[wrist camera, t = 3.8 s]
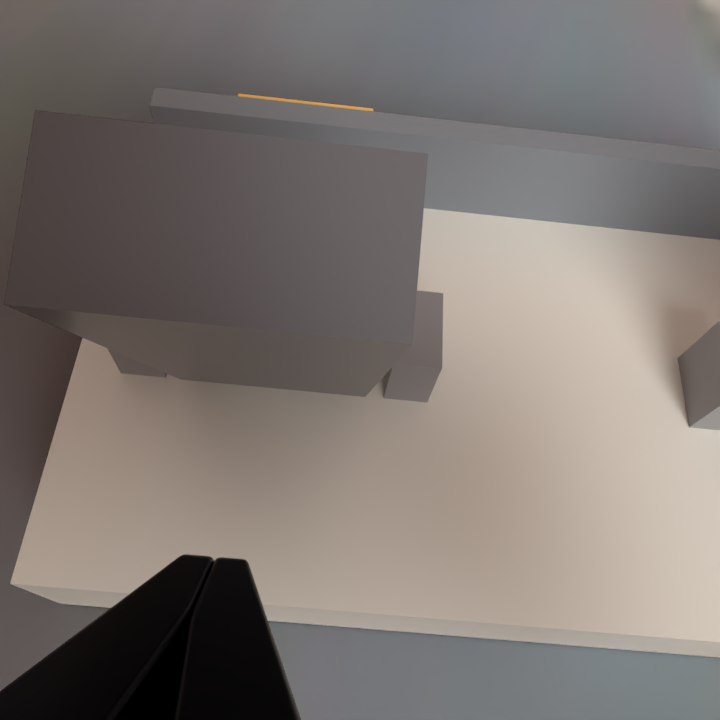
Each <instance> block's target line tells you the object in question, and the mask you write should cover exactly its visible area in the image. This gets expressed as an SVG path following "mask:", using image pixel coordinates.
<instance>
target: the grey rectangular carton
mask: <svg viewBox="0 0 720 720" xmlns="http://www.w3.org/2000/svg"><path fill="white" fill-rule="evenodd" d="M427 163H428V154H427V153H418V152H409V151H400V150H390V149H381V148H372V147H363V146H354V145H345V144H336V143H327V142H318V141H309V140H300V139H291V138H282V137H272V136H263V135H254V134H245V133H236V132H227V131H218V130H209V129H200V128H191V127H182V126H173V125H164V124H154V123H145V122H136V121H127V120H118V119H109V118H100V117H91V116H82V115H73V114H64V113H55V112H46V111H36V110H35V115H34V121H33V127H32V133H31V140H30V146H29V152H28V158H27V164H26V171H25V177H24V183H23V189H22V196H21V202H20V208H19V214H18V220H17V227H16V233H15V239H14V245H13V252H12V258H11V264H10V270H9V276H8V283H7V289H6V295H5V301H4V305H7V306H9V307H11V308H14V309H16V310H18V311H21V312H23V313H25V314H28V315H30V316H33V317H35V318H37V319H40V320H42V321H44V322H47V323H49V324H51V325H54V326H56V327H58V328H61V329H63V330H65V331H68V332H70V333H73V334H75V335H77V336H80V337H82V338H84V339H87V340H89V341H91V342H94V343H96V344H98V345H101V346H103V347H105V348H108V349H110V350H113V351H115V352H117V353H120V354H122V355H124V356H127V357H129V358H131V359H134V360H136V361H138V362H141V363H143V364H146V365H148V366H150V367H153V368H155V369H157V370H160V371H162V372H164V373H167V374H169V375H171V376H174V377H176V378H178V379H182V380H192V381H203V382H213V383H224V384H234V385H245V386H255V387H266V388H276V389H287V390H297V391H308V392H318V393H329V394H339V395H350V396H360V397H366V395H367V394H368V393H369V392H370V391H371V390H372V389H373V388H374V387H375V386H376V384H377V383H378V382H379V381H380V380H381V379H382V378H383V377H384V376H385V374H386V373H387V372H388V371H389V370H390V369H391V368H392V367H393V366H394V365H395V363H396V362H397V361H398V360H399V359H400V358H401V357H402V356H403V355H404V353H405V352H406V351H407V350H408V349H409V348H410V347H411V346H412V344H413V332H414V320H415V308H416V296H417V284H418V272H419V260H420V248H421V236H422V224H423V211H424V199H425V187H426V175H427Z"/></svg>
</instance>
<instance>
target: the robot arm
mask: <svg viewBox="0 0 720 720" xmlns="http://www.w3.org/2000/svg"><path fill="white" fill-rule="evenodd" d="M0 720H301V718H300V715H299V712H298V709H297V706H296V703H295V700H294V697H293V694H292V691H291V688H290V685H289V682H288V679H287V676H286V673H285V670H284V667H283V664H282V661H281V658H280V655H279V652H278V649H277V646H276V643H275V641H274V638H273V635H272V632H271V629H270V626H269V623H268V620H267V617H266V614H265V611H264V608H263V605H262V602H261V599H260V596H259V593H258V590H257V587H256V584H255V581H254V578H253V575H252V572H251V569H250V566H249V563H248V562H247V561H246V560H245V559H237V558H224V557H219V558H217V559H216V560H215V561H214V559H213V558H212V557H210V556H201V555H189V554H184V555H181V556H179V557H178V558H176V559H175V560H174V561H172V562H171V563H170V564H169V565H167V566H166V567H165V568H163V569H162V570H161V571H159V572H158V573H157V574H155V575H154V576H153V577H151V578H150V579H149V580H147V581H146V582H145V583H143V584H142V585H141V586H139V587H138V588H137V589H135V590H134V591H133V592H131V593H130V594H129V595H127V596H126V597H125V598H123V599H122V600H121V601H119V602H118V603H117V604H115V605H114V606H113V607H111V608H110V609H109V610H107V611H106V612H105V613H103V614H102V615H101V616H99V617H98V618H97V619H95V620H94V621H93V622H91V623H90V624H89V625H87V626H86V627H85V628H83V629H82V630H81V631H79V632H78V633H77V634H76V635H74V636H73V637H72V638H70V639H69V640H68V641H66V642H65V643H64V644H62V645H61V646H60V647H58V648H57V649H56V650H54V651H53V652H52V653H50V654H49V655H48V656H46V657H45V658H44V659H42V660H41V661H40V662H38V663H37V664H36V665H34V666H33V667H32V668H30V669H29V670H28V671H26V672H25V673H24V674H22V675H21V676H20V677H18V678H17V679H16V680H14V681H13V682H12V683H10V684H9V685H8V686H6V687H5V688H4V689H2V690H1V691H0Z"/></svg>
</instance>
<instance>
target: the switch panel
mask: <svg viewBox="0 0 720 720" xmlns="http://www.w3.org/2000/svg"><path fill="white" fill-rule="evenodd" d="M149 106H150V110H151V114H152V118H153V122H154V124H164V125H173V126H182V127H191V128H200V129H209V130H218V131H227V132H236V133H245V134H254V135H263V136H272V137H282V138H291V139H300V140H309V141H318V142H327V143H336V144H345V145H354V146H363V147H372V148H381V149H390V150H400V151H409V152H418V153H427V154H428V163H427V175H426V187H425V199H424V211H423V224H422V236H421V248H420V260H419V272H418V284H417V296H416V308H415V320H414V332H413V344H412V346H411V347H410V348H409V349H408V350H407V351H406V352H405V353H404V355H403V356H402V357H401V358H400V359H399V360H398V361H397V362H396V363H395V365H394V366H393V367H392V368H391V369H390V370H389V371H388V372H387V373H386V374H385V376H384V377H383V378H382V379H381V380H380V381H379V382H378V383H377V384H376V386H375V387H374V388H373V389H372V390H371V391H370V392H369V393H368V394H367V395H366V397H360V396H350V395H339V394H329V393H318V392H308V391H297V390H287V389H276V388H266V387H255V386H245V385H234V384H224V383H213V382H203V381H192V380H182V379H178V378H176V377H174V376H171V375H169V374H167V373H164V372H162V371H160V370H157V369H155V368H153V367H150V366H148V365H146V364H143V363H141V362H138V361H136V360H134V359H131V358H129V357H127V356H124V355H122V354H120V353H117V352H115V351H113V350H110V349H108V348H105V347H103V346H101V345H98V344H96V343H94V342H91V341H89V340H87V339H84V338H82V341H81V345H80V348H79V351H78V355H77V358H76V362H75V365H74V368H73V372H72V375H71V379H70V382H69V385H68V389H67V392H66V395H65V399H64V402H63V406H62V409H61V412H60V416H59V419H58V423H57V426H56V429H55V433H54V436H53V440H52V443H51V446H50V450H49V453H48V457H47V460H46V463H45V467H44V470H43V474H42V477H41V480H40V484H39V487H38V491H37V494H36V497H35V501H34V504H33V508H32V511H31V514H30V518H29V521H28V525H27V528H26V531H25V535H24V538H23V542H22V545H21V548H20V552H19V555H18V559H17V562H16V565H15V569H14V572H13V576H12V579H11V582H10V584H12V585H15V586H17V587H20V588H22V589H25V590H27V591H30V592H32V593H35V594H37V595H40V596H42V597H45V598H47V599H50V600H52V601H55V602H57V603H60V604H70V605H82V606H95V607H107V608H111V607H113V606H114V605H115V604H117V603H118V602H119V601H121V600H122V599H123V598H125V597H126V596H127V595H129V594H130V593H131V592H133V591H134V590H135V589H137V588H138V587H139V586H141V585H142V584H143V583H145V582H146V581H147V580H149V579H150V578H151V577H153V576H154V575H155V574H157V573H158V572H159V571H161V570H162V569H163V568H165V567H166V566H167V565H169V564H170V563H171V562H172V561H174V560H175V559H176V558H178V557H179V556H181V555H184V554H189V555H201V556H210V557H212V558H213V559H214V561H215V560H216V559H217V558H219V557H224V558H237V559H245V560H246V561H247V562H248V563H249V566H250V569H251V572H252V575H253V578H254V581H255V584H256V587H257V590H258V593H259V596H260V599H261V602H262V605H263V608H264V611H265V614H266V617H267V620H268V621H279V622H291V623H303V624H316V625H328V626H340V627H353V628H365V629H377V630H389V631H402V632H414V633H426V634H439V635H451V636H463V637H475V638H488V639H500V640H512V641H524V642H537V643H549V644H561V645H574V646H586V647H598V648H610V649H623V650H635V651H647V652H660V653H672V654H684V655H696V656H709V657H720V150H712V149H703V148H694V147H685V146H676V145H667V144H658V143H650V142H641V141H632V140H623V139H614V138H605V137H596V136H587V135H578V134H569V133H561V132H552V131H543V130H534V129H525V128H516V127H507V126H498V125H489V124H480V123H471V122H463V121H454V120H445V119H436V118H427V117H418V116H409V115H400V114H391V113H382V112H374V111H373V109H372V108H363V107H354V106H345V105H336V104H327V103H318V102H309V101H300V100H292V99H283V98H274V97H265V96H256V95H247V94H238V96H231V95H222V94H213V93H204V92H195V91H187V90H178V89H169V88H160V87H155V88H154V91H153V95H152V98H151V102H150V105H149Z"/></svg>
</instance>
